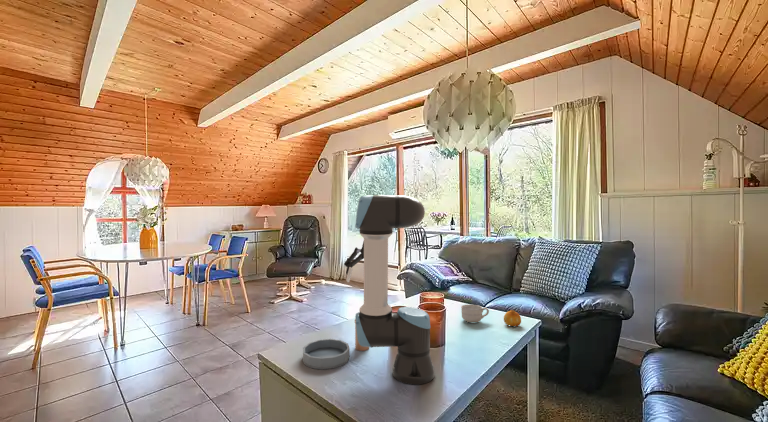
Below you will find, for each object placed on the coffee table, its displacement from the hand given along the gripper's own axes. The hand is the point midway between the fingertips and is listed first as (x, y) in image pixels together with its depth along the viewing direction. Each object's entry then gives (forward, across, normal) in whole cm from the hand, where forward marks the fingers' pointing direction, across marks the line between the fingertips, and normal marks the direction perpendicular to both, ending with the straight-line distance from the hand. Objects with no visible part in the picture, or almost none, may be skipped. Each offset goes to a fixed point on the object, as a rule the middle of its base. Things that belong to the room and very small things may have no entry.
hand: (361, 283), depth 155 cm
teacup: (-1, -51, -45) cm, 68 cm away
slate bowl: (+33, +6, +4) cm, 34 cm away
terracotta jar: (+26, -4, -7) cm, 27 cm away
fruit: (-2, -69, -44) cm, 82 cm away
